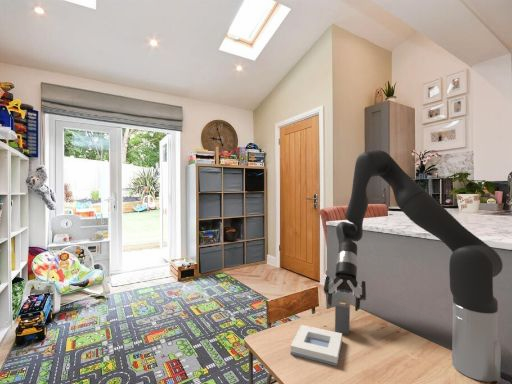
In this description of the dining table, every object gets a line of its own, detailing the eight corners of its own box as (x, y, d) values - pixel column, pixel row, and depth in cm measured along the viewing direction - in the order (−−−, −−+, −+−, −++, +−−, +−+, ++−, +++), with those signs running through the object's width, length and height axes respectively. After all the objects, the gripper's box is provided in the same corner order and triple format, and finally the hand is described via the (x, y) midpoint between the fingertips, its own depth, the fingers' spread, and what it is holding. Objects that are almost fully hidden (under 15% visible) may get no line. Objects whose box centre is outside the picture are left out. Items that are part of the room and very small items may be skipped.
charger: (349, 329, 91) (350, 302, 91) (348, 335, 88) (349, 306, 88) (336, 327, 93) (336, 300, 93) (335, 332, 89) (335, 304, 89)
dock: (342, 341, 84) (342, 333, 84) (337, 366, 72) (337, 356, 72) (301, 332, 89) (301, 324, 89) (290, 354, 77) (290, 345, 77)
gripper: (326, 258, 103) (320, 299, 92) (366, 263, 97) (365, 307, 87) (328, 268, 108) (323, 308, 97) (366, 273, 102) (365, 316, 91)
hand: (343, 307), depth 92 cm, fingers open, 8 cm apart
